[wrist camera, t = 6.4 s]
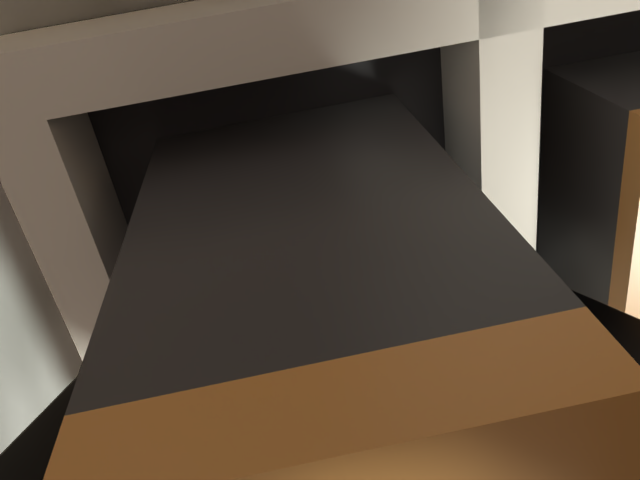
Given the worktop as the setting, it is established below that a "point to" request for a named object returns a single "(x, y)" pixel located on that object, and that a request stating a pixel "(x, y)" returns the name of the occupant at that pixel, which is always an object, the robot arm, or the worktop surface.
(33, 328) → the worktop surface
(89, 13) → the worktop surface
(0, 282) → the worktop surface
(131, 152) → the two-cubby shelf
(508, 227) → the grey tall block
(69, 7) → the worktop surface
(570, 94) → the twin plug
